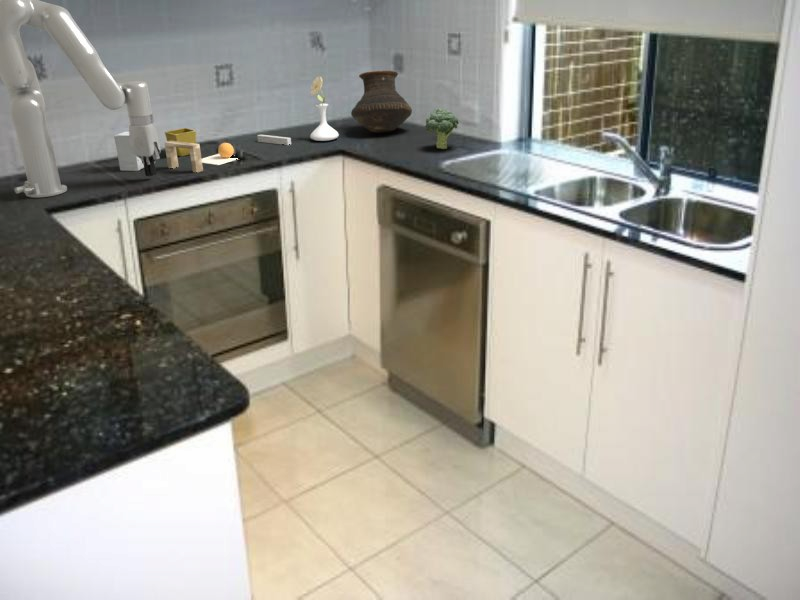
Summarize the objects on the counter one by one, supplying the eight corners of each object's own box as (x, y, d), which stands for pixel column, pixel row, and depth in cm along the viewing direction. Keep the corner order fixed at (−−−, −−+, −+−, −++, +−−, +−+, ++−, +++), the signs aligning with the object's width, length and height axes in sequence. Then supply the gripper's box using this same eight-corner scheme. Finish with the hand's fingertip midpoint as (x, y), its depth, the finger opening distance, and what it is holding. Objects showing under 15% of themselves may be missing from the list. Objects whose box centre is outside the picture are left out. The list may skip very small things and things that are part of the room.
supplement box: (138, 171, 276) (132, 135, 271) (119, 170, 277) (113, 135, 272) (149, 166, 283) (142, 131, 278) (130, 165, 284) (124, 131, 279)
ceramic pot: (352, 127, 302) (348, 68, 301) (352, 137, 326) (348, 83, 325) (415, 123, 303) (411, 65, 302) (410, 134, 328) (407, 79, 326)
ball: (224, 157, 284) (227, 142, 284) (213, 156, 287) (216, 140, 287) (235, 160, 289) (238, 145, 288) (225, 158, 292) (227, 143, 291)
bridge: (196, 172, 270) (192, 145, 267) (168, 168, 278) (164, 142, 274) (203, 170, 272) (199, 144, 269) (174, 166, 280) (170, 140, 276)
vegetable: (451, 143, 295) (450, 103, 289) (464, 150, 284) (464, 108, 278) (421, 147, 292) (420, 106, 286) (433, 154, 281) (432, 112, 275)
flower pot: (178, 158, 292) (174, 134, 288) (167, 155, 298) (164, 131, 294) (199, 154, 297) (196, 130, 293) (188, 151, 303) (185, 127, 299)
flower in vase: (310, 137, 316) (304, 74, 306) (338, 136, 317) (333, 72, 307) (310, 144, 304) (304, 78, 294) (339, 142, 305) (335, 76, 295)
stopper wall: (287, 145, 305) (287, 138, 304) (257, 141, 313) (257, 135, 312) (291, 144, 306) (290, 137, 305) (261, 140, 315) (260, 134, 314)
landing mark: (218, 165, 279) (218, 164, 279) (193, 161, 286) (193, 161, 286) (244, 157, 289) (244, 156, 289) (219, 154, 296) (219, 153, 295)
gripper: (117, 120, 257) (127, 175, 265) (147, 124, 249) (156, 180, 257) (136, 116, 263) (145, 170, 270) (165, 120, 255) (174, 175, 262)
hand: (150, 175), depth 263 cm, fingers closed
